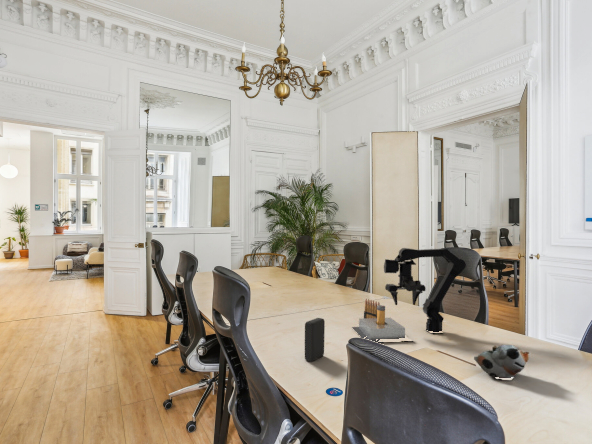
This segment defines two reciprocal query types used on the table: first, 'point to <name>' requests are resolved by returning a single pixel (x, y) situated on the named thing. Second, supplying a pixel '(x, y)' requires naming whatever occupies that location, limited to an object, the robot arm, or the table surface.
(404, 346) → the table surface
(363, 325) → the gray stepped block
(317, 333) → the card reader
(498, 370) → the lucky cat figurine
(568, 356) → the table surface
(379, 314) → the pin
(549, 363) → the table surface
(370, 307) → the ammunition clip
